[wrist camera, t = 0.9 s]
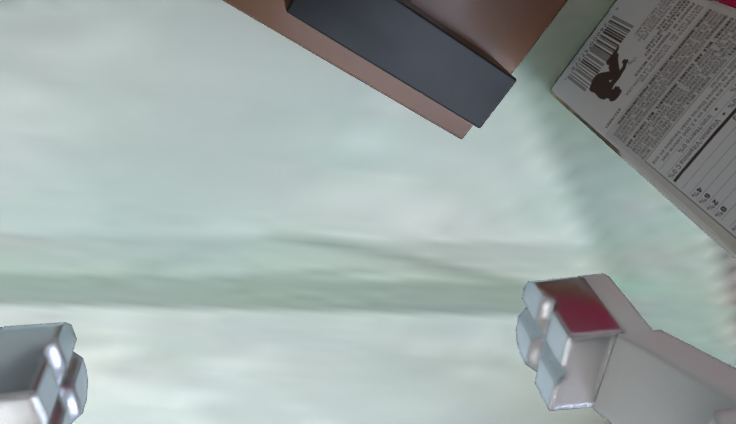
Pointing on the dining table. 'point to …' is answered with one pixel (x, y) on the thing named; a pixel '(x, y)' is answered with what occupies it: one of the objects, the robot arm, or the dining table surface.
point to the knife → (412, 51)
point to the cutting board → (451, 8)
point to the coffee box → (666, 101)
